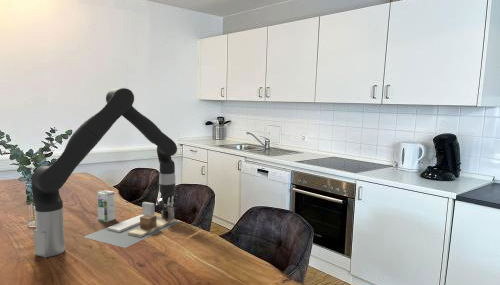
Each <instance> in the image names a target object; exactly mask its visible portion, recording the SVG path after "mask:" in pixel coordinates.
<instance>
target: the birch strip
mask: <svg viewBox="0 0 500 285" xmlns="http://www.w3.org/2000/svg"><path fill="white" fill-rule="evenodd" d="M165 208H166V206H165ZM160 212H161V216H160V217H161V218H160V219H158V220H156V224H157V227H154V228H152V229H150V230H147V229H142V228H140V227H139V228H136V229H134V230H132V231H129V232H128V235H132V236H136V237H142V236H144V235H146V234H149V233H151V232H153V231H155V230H157V229H159V228H162V227H164V226H166V225H168V224H170V223H173V222H175V221H177V219H176V218H175V207H171V206H168V218H167V219H165V218H164V217H163V211H162V210H160Z"/></svg>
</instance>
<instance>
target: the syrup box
mask: <svg viewBox="0 0 500 285" xmlns="http://www.w3.org/2000/svg"><path fill="white" fill-rule="evenodd" d="M96 195H97V221H99V222H103V223H108V222H111V221H114V220H115V219H116V209H115V208H116V202H115V201H116V199H115V191H112V190H111V191H110V190H102V191H101V190H100V191H98V192H97V194H96Z"/></svg>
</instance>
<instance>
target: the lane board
mask: <svg viewBox="0 0 500 285" xmlns="http://www.w3.org/2000/svg"><path fill="white" fill-rule="evenodd" d="M140 215H142V214H140ZM160 218H162V217H161V216H156V220H158V219H160ZM129 219H130V218H128V219H127V220H129ZM121 222H122V221H121ZM121 222H119V223H121ZM181 222H182V221H180V220H176V221H175V222H173V223H170V224H168V225H166V226H164V227H162V228H159V229H157V230H155V231H153V232H151V233H149V234H146V235H144V236H142V237H136V236H132V235H128V232H129V231H132V230H134V229H136V228H139V227H140V224H138V225H136V226H134V227H131V228H129V229H126V230H124V231H121V232H115V231H111V230H108V227H109V226H108V227H105V228H103V229H100V230H97V231H95V232H93V233H90V234H87V235H85V236H83V238H85V239H89V240H91V241H92V240H94V241H97V242H100V243H104V244H108V245H113V246H116V247H120V248H124V249H126V248H128V247H130V246H133V245H135V244H137V243H139V242H141V241H143V240H145V239H147V238H149V237H151V236H154V235H157V234H158V233H160V232H162V231H165V230H166V229H168V228H169V229H170V228H171V227H173V226H175V225H177V224H180V223H181Z"/></svg>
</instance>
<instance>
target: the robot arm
mask: <svg viewBox="0 0 500 285" xmlns="http://www.w3.org/2000/svg"><path fill="white" fill-rule="evenodd" d="M105 102H106V104H105V105H104V107H102V109H100V110H99V111H98V112H96V113H95V114H94V115H92V116H91V117H89V118H88V119H86V120H85V121H84V122H83V123H82V124H81V125H80V126H79V127H78V128H77V129H76V130H75V131H74V132H73V133H72V134H71V136H70V137H69V140H68V141H67V143H66V145H65V147H64V150H63V151H62V153H61V155H60V156H59V157H58V158H57V159H56V160H55V161H54V162H53V163H52V164H51V165H42V166H39V167H37V168H36V169H35V170H34V171H33V173H32V175H31V191H32V192H31V195H32V201H33V204H34V208H35V209H34V210H35V211H34V212H35V229H34V231H33V237H34V238H33V239H34V240H33V241H34V255H35V256H38V257H42V258H45V259H46V258H49V257H55V256H57V255H60V254H61V255H62V253H64V252H65V251H66V247H65V246H66V245H65V226H64V222H65V221H64V202H63V201H64V200H62V197H61V194H60V189H61V188H62V187H63V186H64V185H65V183H67V181H68V179H69V177H70V176H71V175H72V173H74V171H75V170H76V168H77V167H78V166H79V164H80V163H82V161H84V159H85V158H86V157H87V156H88V154H89V153H90V152H92V151H93V149H94V148H95V147H96V146H97V144H99V142H100V141H101V140H102V139H103V137H104V136H105V135H106V134H107V132H109V130H110V129H111V128H112V127H113V125H114V124H115V123H116V122H117V120H118V119H120V118H121V117H123V118H124V119H125V120H127V121H128V122H129V123H130V124H131V125H133V127H135V129H137V130H138V131H139V132H140V133H141V134H142V135H143V136H144V137H145V138H146V140H148V141H149V142H150V143H151V144H154V145H155V146H157V147H156V154H157V158H158V162H159V178H158V182H159V184H158V185H159V186H158V187H159V188H158V189H159V190H158V191H159V193H160V198H159V200H156V204H157V206H158V209H159V210H160V211H161V210H162V211H163V217H164V218H165V219H167V218H168V206H171V207H174V208H175V207H176V204H177V201H178V198H179V195H178V194H175V192H176V191H177V190H176V172H175V171H176V170H175V169H176V166H175V162H174V160H173V158H172V156H175V154H177V152H178V146H177V144H176V142H175V141H174V140H173V139H171V137H169V136H168V135H166V134H165V133H164V132H162V130H161V129H160V128H159V127H158V126H157V124H156V123H155V122H153V121H152V119H151V120H150V118H148V117H146V116H145V115H144V114H143V113H141V112H140V111H138V109H136V108H135V107H134V106H133V105H134V103H135V94H134V93H133V91H132V90H131V89H129V88H126V87H119V88H118V87H117V88H112V89H110V90H109V91H108V92H107V93H106V95H105ZM165 206H166V208H165Z"/></svg>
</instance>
